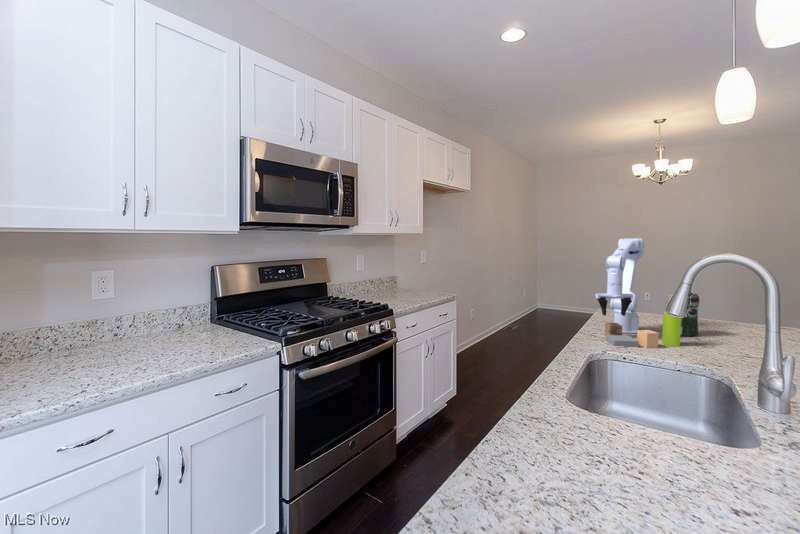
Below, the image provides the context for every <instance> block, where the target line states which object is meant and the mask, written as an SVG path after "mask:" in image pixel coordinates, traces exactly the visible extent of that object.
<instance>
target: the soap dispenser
mask: <svg viewBox="0 0 800 534" xmlns="http://www.w3.org/2000/svg"><path fill="white" fill-rule="evenodd" d="M672 295H673V294H670V295H669V298H670V299H671V297H672ZM665 311H666V310H665ZM665 311H664V310H663V314H662V315H663V316H662V317H663V319H662V337H661V339H662V340H661V343H662V345H665V346H669V347H679V346H681V335H680V332H681V318H679V317H673V316H670V315H668V314H666V312H665Z"/></svg>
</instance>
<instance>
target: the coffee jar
mask: <svg viewBox="0 0 800 534" xmlns="http://www.w3.org/2000/svg"><path fill="white" fill-rule="evenodd" d="M699 305H700V296H699V295H698V294H697V293H692V297H691V305H690V309H689V311H688V313H687V317H684V318H681V332H680V337H681V336H683V337H695V336H698V335H699V323H698V322H699V320H698V319H699V318H698V317H699V316H698V312H699V311H698V310H699Z"/></svg>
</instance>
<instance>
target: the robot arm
mask: <svg viewBox="0 0 800 534" xmlns="http://www.w3.org/2000/svg"><path fill="white" fill-rule="evenodd" d="M617 247H618V248H616V249H615V250H614V252H613V253H612V254H611V255H609V256H607V257H606V260H605V267H606V274H607V277H606V278H607V284H606V285H607V286H606V292H605V293H604V292H602V293H601V292H600V293H595V298H596V300H597V301H598V303H599V304H598V305H599V306H600V309H601V313H602V315H603V316H607V305H608V299H610V302H609V303H610V304H609V305H610V309H611V310H612V311H613V313H614V315H613V323H618V324H620V325H622V334H637V333H638V330H640V329H639V328H640V327H639V325H640V323H639V322H640V318H639V314H638V313H637V308H638V297H637V295H636V294H635V293H633V292H632V291H633V285H634V280H635V273H636V269H637V268H636V267H637V263H638V261H639V259H641V258H643V255H644V252H645V251H644V250H645V239H644V238H642V237H640V238H637V237H636V238H629V237H628V238H624V237H621V238H620V239H619V240H618V242H617Z"/></svg>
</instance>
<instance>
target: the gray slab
mask: <svg viewBox="0 0 800 534" xmlns="http://www.w3.org/2000/svg"><path fill="white" fill-rule="evenodd" d="M604 341H605V342H606V341H607V342H608V343H607V342H606V343H607V344H609V343H610V344H612V345H613V346H624V347H623V348H628V347H638V348H639V347H640V346H639V341H637V339H636V338H634V337H632V336H630V335H627V334H624V335H623V334H622V335H605V334H604ZM610 344H609V345H610ZM612 345H611V346H612ZM613 346H612V347H613Z"/></svg>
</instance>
